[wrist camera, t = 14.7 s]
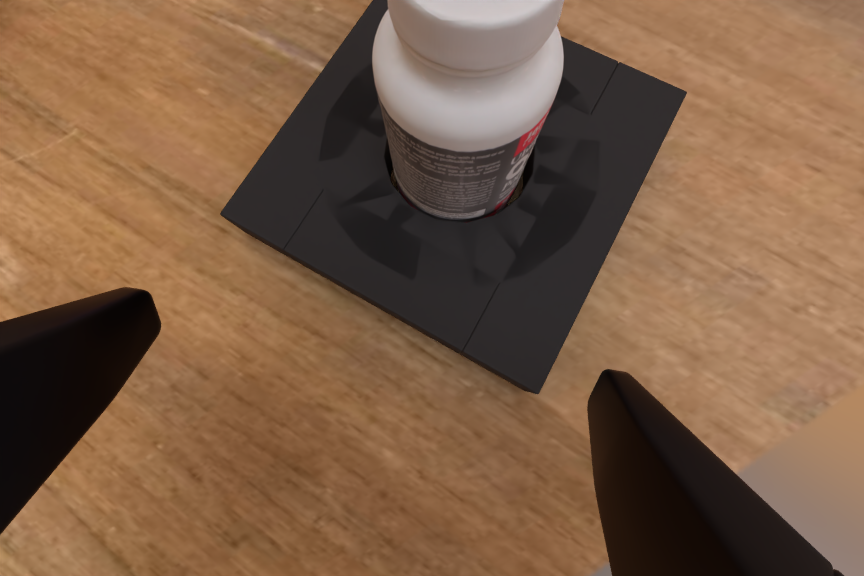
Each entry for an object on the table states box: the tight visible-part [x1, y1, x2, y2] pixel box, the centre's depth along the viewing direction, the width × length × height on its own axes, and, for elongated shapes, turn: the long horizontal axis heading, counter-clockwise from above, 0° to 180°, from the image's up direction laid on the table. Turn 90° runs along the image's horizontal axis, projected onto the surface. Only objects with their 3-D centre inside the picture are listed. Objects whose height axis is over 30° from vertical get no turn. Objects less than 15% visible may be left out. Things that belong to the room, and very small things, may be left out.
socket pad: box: [220, 0, 687, 394], centre depth 16 cm, size 14×14×2 cm
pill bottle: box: [372, 0, 564, 223], centre depth 13 cm, size 5×5×10 cm
